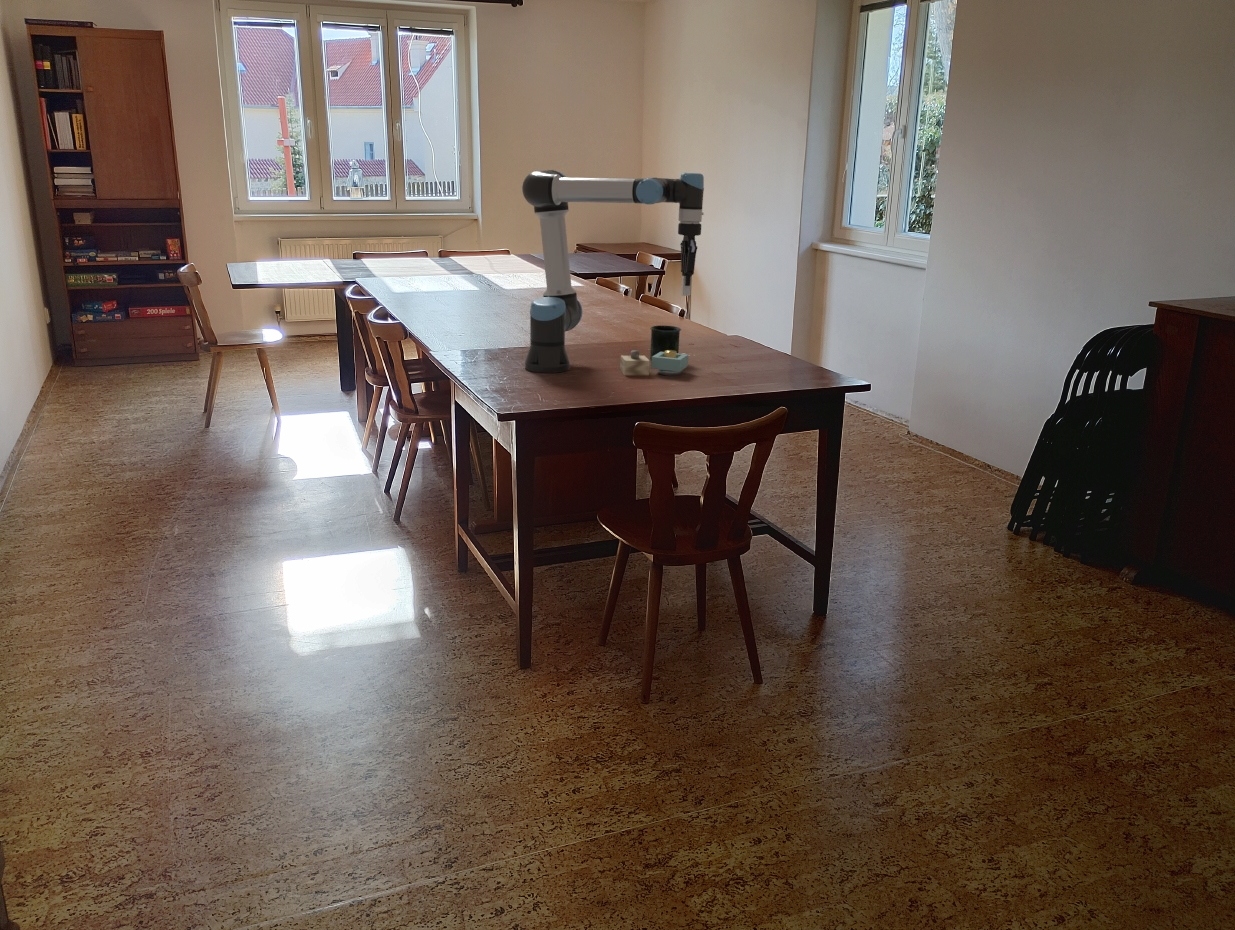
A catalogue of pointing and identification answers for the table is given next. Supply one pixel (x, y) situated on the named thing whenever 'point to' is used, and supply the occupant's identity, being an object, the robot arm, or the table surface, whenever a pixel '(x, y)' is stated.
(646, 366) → the stand
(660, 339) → the mug
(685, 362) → the teal square ring
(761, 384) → the table surface
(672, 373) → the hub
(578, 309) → the robot arm
